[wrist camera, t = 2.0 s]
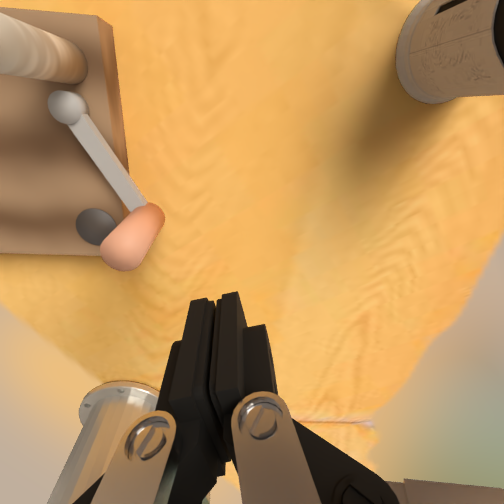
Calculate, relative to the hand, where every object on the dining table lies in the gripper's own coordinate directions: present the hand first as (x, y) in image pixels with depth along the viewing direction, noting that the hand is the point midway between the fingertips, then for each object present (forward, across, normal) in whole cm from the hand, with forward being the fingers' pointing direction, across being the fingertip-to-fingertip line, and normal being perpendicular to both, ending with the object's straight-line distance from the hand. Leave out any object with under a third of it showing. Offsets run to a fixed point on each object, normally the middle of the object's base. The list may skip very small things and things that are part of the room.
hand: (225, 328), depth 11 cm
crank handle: (+18, +9, -4) cm, 20 cm away
